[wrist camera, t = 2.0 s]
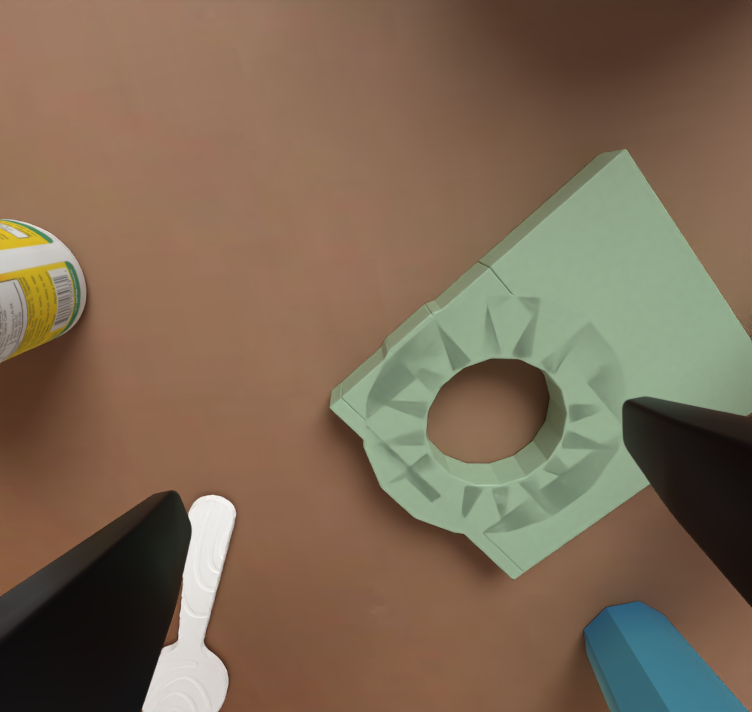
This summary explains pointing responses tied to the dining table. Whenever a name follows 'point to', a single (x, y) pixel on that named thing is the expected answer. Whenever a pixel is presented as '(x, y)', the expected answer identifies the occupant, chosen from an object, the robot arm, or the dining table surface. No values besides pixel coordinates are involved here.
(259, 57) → the dining table surface
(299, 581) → the dining table surface
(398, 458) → the holder plate
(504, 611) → the dining table surface
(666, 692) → the cup
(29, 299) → the supplement bottle
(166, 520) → the robot arm
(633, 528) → the dining table surface
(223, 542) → the spoon
